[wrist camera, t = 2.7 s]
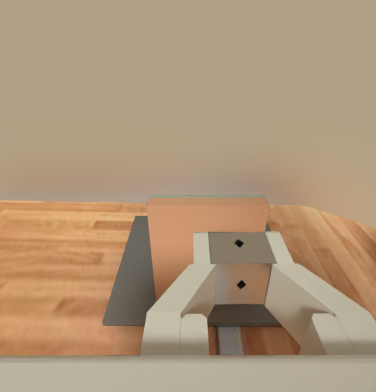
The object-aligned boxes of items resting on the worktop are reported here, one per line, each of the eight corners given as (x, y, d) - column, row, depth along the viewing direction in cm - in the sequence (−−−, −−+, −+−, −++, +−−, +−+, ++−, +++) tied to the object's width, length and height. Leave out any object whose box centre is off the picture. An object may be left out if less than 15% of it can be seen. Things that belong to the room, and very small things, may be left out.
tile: (156, 302, 28) (146, 205, 22) (157, 290, 29) (149, 195, 23) (252, 302, 28) (269, 205, 22) (249, 290, 29) (264, 195, 23)
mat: (103, 325, 26) (102, 321, 26) (135, 219, 42) (135, 216, 41) (307, 326, 26) (308, 322, 26) (263, 219, 42) (264, 216, 41)
